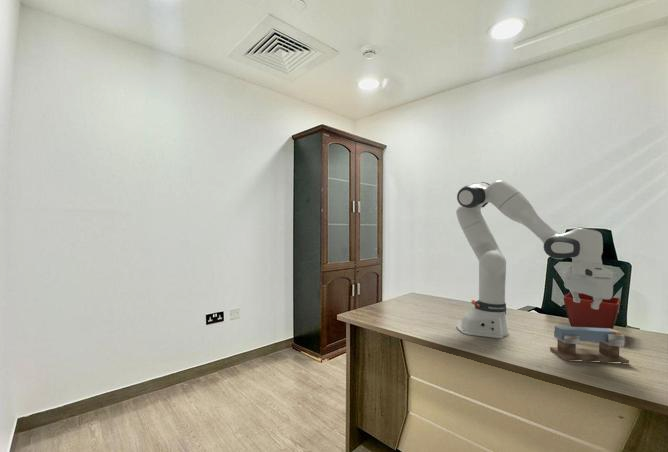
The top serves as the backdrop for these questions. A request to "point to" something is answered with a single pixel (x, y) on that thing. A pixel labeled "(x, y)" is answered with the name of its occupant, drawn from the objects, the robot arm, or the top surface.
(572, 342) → the stand
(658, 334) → the top surface
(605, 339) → the rail
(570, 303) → the plant pot
